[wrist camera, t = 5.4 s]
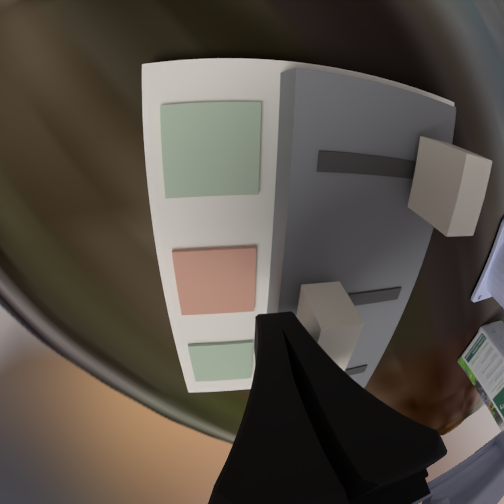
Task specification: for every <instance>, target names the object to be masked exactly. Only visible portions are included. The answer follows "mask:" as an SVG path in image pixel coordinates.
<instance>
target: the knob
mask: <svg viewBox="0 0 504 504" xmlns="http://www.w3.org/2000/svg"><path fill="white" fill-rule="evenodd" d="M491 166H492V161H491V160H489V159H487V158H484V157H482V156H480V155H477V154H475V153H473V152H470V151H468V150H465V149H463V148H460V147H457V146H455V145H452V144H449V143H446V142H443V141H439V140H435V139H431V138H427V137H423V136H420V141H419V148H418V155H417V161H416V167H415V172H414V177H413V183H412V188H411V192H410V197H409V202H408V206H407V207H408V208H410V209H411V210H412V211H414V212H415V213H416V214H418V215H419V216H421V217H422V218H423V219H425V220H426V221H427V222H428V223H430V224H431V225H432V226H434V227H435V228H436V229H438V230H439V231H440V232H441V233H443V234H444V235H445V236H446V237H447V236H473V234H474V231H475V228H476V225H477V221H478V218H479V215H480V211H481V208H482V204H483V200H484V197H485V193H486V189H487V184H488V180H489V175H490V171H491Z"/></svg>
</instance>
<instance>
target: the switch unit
mask: <svg viewBox="0 0 504 504" xmlns="http://www.w3.org/2000/svg"><path fill="white" fill-rule="evenodd" d="M142 110H143V132H144V148H145V161H146V173H147V183H148V192H149V201H150V209H151V217H152V224H153V231H154V238H155V245H156V251H157V257H158V263H159V268H160V274H161V279H162V285H163V290H164V295H165V300H166V305H167V309H168V314H169V318H170V323H171V327H172V332H173V336H174V340H175V344H176V348H177V352H178V356H179V360H180V364H181V367H182V371H183V375H184V378H185V382H186V385H187V389H188V392H214V391H230V390H243V389H251V386H252V381H253V376H254V371H255V353H254V338H255V317H256V316H257V315H258V314H267V313H278V312H289V311H292V312H293V313H294V314H295V315H297V309H298V303H299V297H300V290H301V285H302V284H314V283H326V282H337V281H340V283H341V285H342V286H343V288H344V289H345V291H346V293H347V294H348V296H349V298H350V299H351V301H352V302H353V304H354V306H355V307H356V309H357V311H358V312H359V314H360V316H361V318H362V319H363V321H364V325H363V328H362V331H361V333H360V336H359V338H358V341H357V343H356V346H355V348H354V351H353V353H352V355H351V358H350V360H349V362H348V365H347V367H346V369H345V371H344V372H346V373H347V374H348V375H349V376H350V377H351V378H352V379H353V380H354V381H356V382H357V383H358V384H359V385H360V386H362V387H363V388H365V386H366V384H367V382H368V381H369V379H370V377H371V375H372V374H373V372H374V370H375V368H376V366H377V364H378V363H379V361H380V359H381V357H382V355H383V353H384V351H385V349H386V347H387V345H388V343H389V341H390V339H391V337H392V335H393V333H394V331H395V329H396V326H397V324H398V322H399V320H400V318H401V315H402V313H403V311H404V308H405V306H406V304H407V301H408V299H409V296H410V294H411V292H412V289H413V286H414V284H415V281H416V279H417V276H418V273H419V271H420V268H421V265H422V262H423V259H424V256H425V253H426V250H427V247H428V244H429V241H430V238H431V234H432V231H433V228H434V226H432V225H431V224H430V223H428V222H427V221H426V220H425V219H423V218H422V217H421V216H419V215H418V214H416V213H415V212H414V211H412V210H411V209H410V208H408V207H407V206H408V202H409V197H410V192H411V188H412V183H413V177H414V172H415V167H416V161H417V155H418V148H419V141H420V136H423V137H427V138H431V139H435V140H439V141H443V142H446V143H449V144H452V141H453V134H454V126H455V117H456V107H454V102H452V101H450V100H447V99H445V98H442V97H440V96H437V95H434V94H432V93H429V92H426V91H423V90H420V89H417V88H414V87H411V86H408V85H405V84H401V83H398V82H395V81H391V80H388V79H384V78H380V77H376V76H372V75H368V74H364V73H359V72H355V71H350V70H345V69H340V68H334V67H328V66H322V65H315V64H308V63H300V62H291V61H281V60H268V59H247V58H209V59H188V60H175V61H165V62H156V63H148V64H142Z"/></svg>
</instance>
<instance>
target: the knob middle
mask: <svg viewBox="0 0 504 504" xmlns="http://www.w3.org/2000/svg"><path fill="white" fill-rule="evenodd" d="M296 317H297V318H298V319H299V321H300V322H301V323H302V325H303V326H304V327H305V329H306V330H307V331H308V332H309V334H310V335H311V336H312V337H313V338H314V340H315V341H316V342H317V343H318V344H319V345H320V346H321V348H322V349H323V350H324V351H325V352H326V353H327V354H328V355H329V356H330V357H331V359H332V360H333V361H334V362H335V363H336V364H337V365H338V366H339V367H340V368H341V369H342V370H343V371H345V369H346V367H347V365H348V362H349V360H350V358H351V355H352V353H353V351H354V348H355V346H356V343H357V341H358V338H359V336H360V333H361V331H362V328H363V325H364V321H363V319H362V318H361V316H360V314H359V312H358V311H357V309H356V307H355V306H354V304H353V302H352V301H351V299H350V298H349V296H348V294H347V293H346V291H345V289H344V288H343V286H342V285H341V283H340V281H337V282H326V283H314V284H302V285H301V290H300V297H299V303H298V309H297V315H296Z"/></svg>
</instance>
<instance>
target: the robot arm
mask: <svg viewBox="0 0 504 504" xmlns="http://www.w3.org/2000/svg"><path fill="white" fill-rule="evenodd" d="M489 297H493V298H494V299H495V300H496V301H497V302H498V303H499V304H500V305H501V306H502V307H503V308H504V219H503V220H502V222H501V225H500V228H499V231H498V234H497V237H496V240H495V242H494V245H493V248H492V250H491V253H490V256H489V258H488V261H487V263H486V265H485V268H484V270H483V272H482V275H481V277H480V279H479V281H478V284H477V286H476V288H475V290H474V292H473V294H472V296H471V300H472V301H473V302H477V301H480V300H483V299H486V298H489ZM254 353H255V371H254V376H253V381H252V386H251V390H250V394H249V398H248V402H247V406H246V409H245V412H244V415H243V419H242V422H241V425H240V428H239V430H238V433H237V436H236V438H235V441H234V443H233V446H232V449H231V451H230V453H229V456H228V458H227V460H226V462H225V465H224V467H223V469H222V471H221V473H220V475H219V477H218V479H217V481H216V483H215V485H214V488H213V491H212V494H211V497H210V499H209V502H208V504H418V503H420V502H422V501H423V502H422V504H497V503H498V502H499V501H500V499H501V498H502V497H503V496H504V430H503V431H502V432H500V433H499V434H498V435H497V436H496V437H494V438H493V439H492V440H490V441H489V442H488V443H487V444H485V445H484V446H483V447H481V448H480V449H479V450H477V451H476V452H475V453H474V454H473V455H471V456H470V457H468V458H467V459H466V460H464V461H463V462H461V463H460V464H458V465H457V466H455V467H453V468H452V469H450V470H449V471H447V472H446V473H444V474H442V475H441V476H439V477H437V478H435V479H434V480H432V481H430V482H428V483H427V482H426V480H425V478H426V477H427V476H428V472H427V470H426V468H427V467H429V466H430V465H432V464H434V463H435V462H437V461H438V460H439V459H441V458H442V457H444V456H445V455H446V454H447V449H446V447H445V445H444V443H443V440H442V438H441V437H440V435H439V433H438V432H437V431H436V430H434V429H431V428H429V427H427V426H425V425H422V424H420V423H418V422H416V421H414V420H412V419H410V418H408V417H406V416H404V415H403V414H401V413H399V412H397V411H396V410H394V409H393V408H391V407H389V406H388V405H386V404H385V403H383V402H382V401H380V400H379V399H377V398H376V397H375V396H373V395H372V394H371V393H369V392H368V391H367V390H365V389H364V388H363V387H362V386H360V385H359V384H358V383H357V382H356V381H354V380H353V379H352V378H351V377H350V376H349V375H348V374H347V373H346V372H344V371H343V370H342V369H341V368H340V367H339V366H338V365H337V364H336V363H335V362H334V361H333V360H332V359H331V357H330V356H329V355H328V354H327V353H326V352H325V351H324V350H323V349H322V348H321V346H320V345H319V344H318V343H317V342H316V341H315V340H314V338H313V337H312V336H311V335H310V334H309V332H308V331H307V330H306V329H305V327H304V326H303V325H302V323H301V322H300V321H299V319H298V318H297V317H296V315H295V314H294V313H293V312H292V311H289V312H278V313H267V314H258V315H257V316H256V317H255V338H254Z"/></svg>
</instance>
